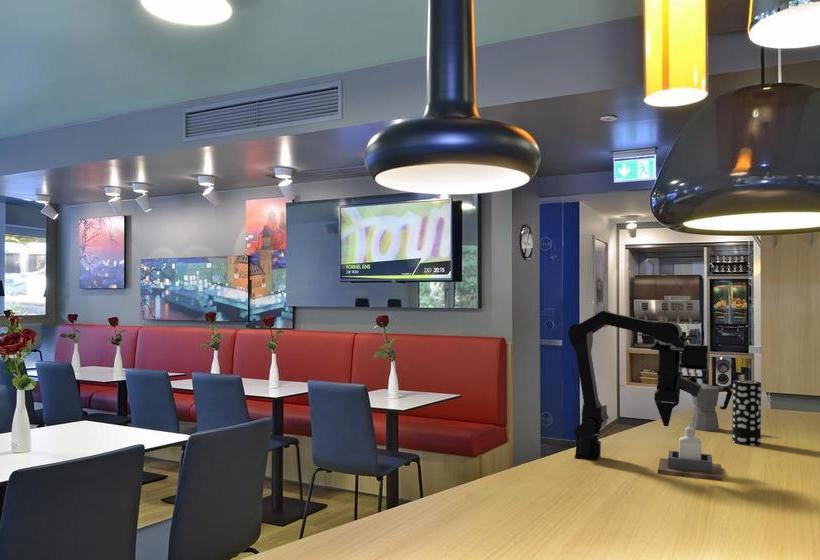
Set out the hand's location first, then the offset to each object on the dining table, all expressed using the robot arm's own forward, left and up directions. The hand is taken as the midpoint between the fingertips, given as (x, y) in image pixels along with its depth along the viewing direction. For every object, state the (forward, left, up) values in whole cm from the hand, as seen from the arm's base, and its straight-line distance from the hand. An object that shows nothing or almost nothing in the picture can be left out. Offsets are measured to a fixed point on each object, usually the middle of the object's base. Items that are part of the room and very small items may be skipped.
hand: (666, 423), depth 188 cm
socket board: (+6, 0, -13) cm, 14 cm away
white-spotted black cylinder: (+23, +46, -13) cm, 53 cm away
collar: (+6, 0, -13) cm, 14 cm away
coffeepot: (+12, +65, -13) cm, 67 cm away
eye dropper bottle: (+6, 0, -12) cm, 13 cm away
